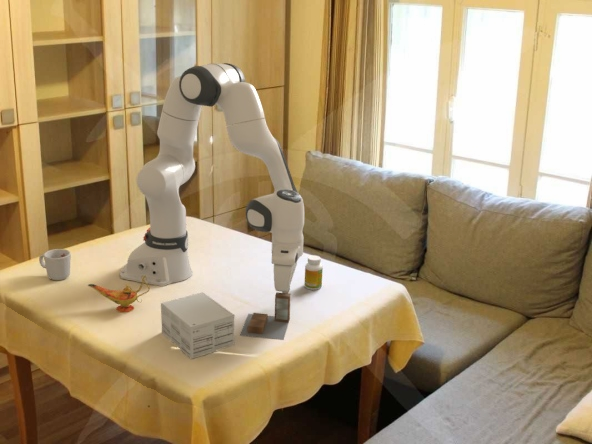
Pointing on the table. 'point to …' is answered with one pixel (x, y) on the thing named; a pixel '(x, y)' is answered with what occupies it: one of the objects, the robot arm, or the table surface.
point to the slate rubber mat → (267, 329)
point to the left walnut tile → (257, 323)
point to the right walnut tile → (282, 307)
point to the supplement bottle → (313, 273)
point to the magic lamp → (121, 296)
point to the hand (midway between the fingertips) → (285, 292)
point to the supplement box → (197, 324)
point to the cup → (56, 263)
